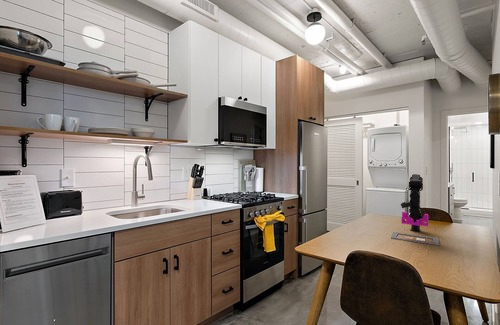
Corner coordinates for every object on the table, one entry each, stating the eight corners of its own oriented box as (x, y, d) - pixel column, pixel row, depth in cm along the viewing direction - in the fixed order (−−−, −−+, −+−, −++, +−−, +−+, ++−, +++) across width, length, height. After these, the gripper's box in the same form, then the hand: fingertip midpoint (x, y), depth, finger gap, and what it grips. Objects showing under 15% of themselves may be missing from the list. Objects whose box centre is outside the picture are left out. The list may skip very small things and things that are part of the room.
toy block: (401, 223, 181) (401, 212, 181) (402, 222, 186) (402, 211, 186) (427, 226, 172) (427, 215, 172) (428, 225, 177) (428, 214, 177)
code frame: (393, 232, 194) (393, 231, 194) (438, 238, 179) (438, 238, 179) (390, 238, 179) (390, 237, 179) (439, 245, 164) (439, 244, 164)
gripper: (402, 196, 191) (402, 217, 191) (400, 199, 175) (400, 222, 175) (420, 197, 185) (420, 219, 185) (420, 200, 169) (419, 224, 169)
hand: (414, 221), depth 179 cm, fingers closed on toy block, 6 cm apart
